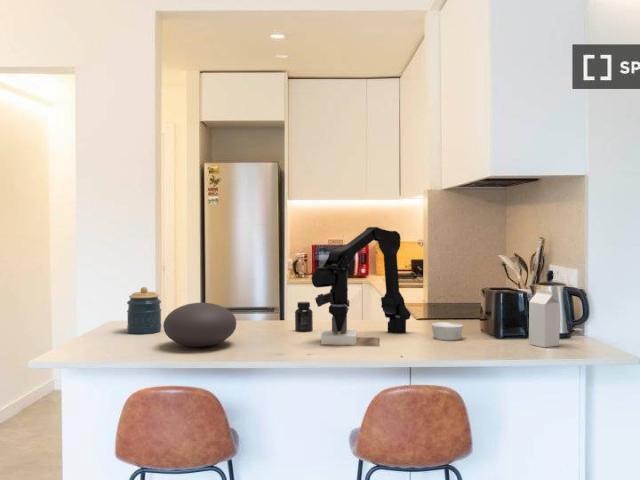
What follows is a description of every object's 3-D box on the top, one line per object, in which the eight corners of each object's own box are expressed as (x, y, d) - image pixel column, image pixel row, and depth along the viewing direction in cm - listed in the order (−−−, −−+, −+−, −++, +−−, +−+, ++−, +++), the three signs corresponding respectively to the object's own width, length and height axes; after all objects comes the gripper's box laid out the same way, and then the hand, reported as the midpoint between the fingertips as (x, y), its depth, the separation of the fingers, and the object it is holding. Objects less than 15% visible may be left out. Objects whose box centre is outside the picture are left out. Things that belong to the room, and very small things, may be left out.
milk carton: (544, 348, 204) (545, 292, 204) (528, 344, 210) (529, 290, 210) (559, 346, 207) (560, 291, 207) (543, 342, 214) (543, 289, 213)
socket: (357, 338, 217) (357, 329, 217) (355, 344, 205) (355, 336, 205) (323, 337, 218) (323, 329, 218) (320, 344, 206) (320, 335, 206)
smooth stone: (158, 342, 215) (158, 300, 215) (226, 336, 225) (226, 297, 225) (169, 356, 193) (169, 309, 192) (245, 349, 203) (245, 305, 202)
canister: (120, 333, 233) (119, 287, 233) (141, 328, 245) (141, 284, 245) (147, 335, 228) (147, 289, 228) (168, 330, 240) (167, 286, 240)
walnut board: (379, 340, 218) (379, 337, 218) (379, 349, 202) (379, 346, 202) (324, 339, 220) (324, 336, 220) (320, 348, 204) (320, 345, 204)
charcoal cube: (347, 334, 214) (346, 315, 214) (346, 337, 209) (346, 317, 209) (332, 334, 214) (332, 315, 214) (331, 336, 209) (331, 317, 209)
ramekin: (468, 338, 222) (468, 324, 222) (452, 342, 214) (452, 328, 214) (442, 334, 230) (442, 320, 230) (425, 338, 222) (425, 324, 221)
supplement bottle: (315, 332, 234) (315, 301, 234) (308, 335, 228) (307, 303, 228) (299, 331, 237) (299, 300, 237) (291, 333, 231) (291, 302, 231)
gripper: (319, 282, 221) (319, 325, 221) (313, 288, 202) (314, 334, 203) (349, 283, 220) (349, 325, 220) (346, 288, 201) (347, 334, 202)
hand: (339, 329), depth 211 cm, fingers closed on charcoal cube, 5 cm apart
